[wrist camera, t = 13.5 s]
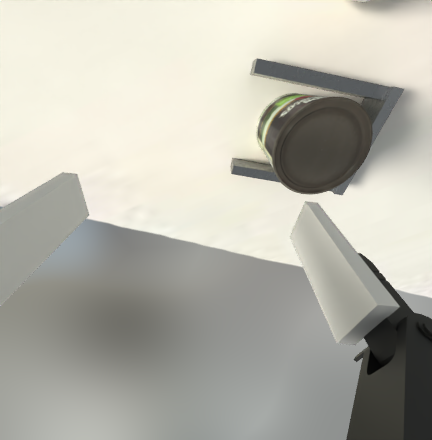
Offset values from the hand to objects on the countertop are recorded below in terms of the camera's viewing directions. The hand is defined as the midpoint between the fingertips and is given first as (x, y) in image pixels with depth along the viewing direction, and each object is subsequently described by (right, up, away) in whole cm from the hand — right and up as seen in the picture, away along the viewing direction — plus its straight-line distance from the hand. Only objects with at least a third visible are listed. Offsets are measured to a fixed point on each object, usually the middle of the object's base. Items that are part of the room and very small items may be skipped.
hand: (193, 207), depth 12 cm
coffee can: (+13, +15, +22) cm, 29 cm away
